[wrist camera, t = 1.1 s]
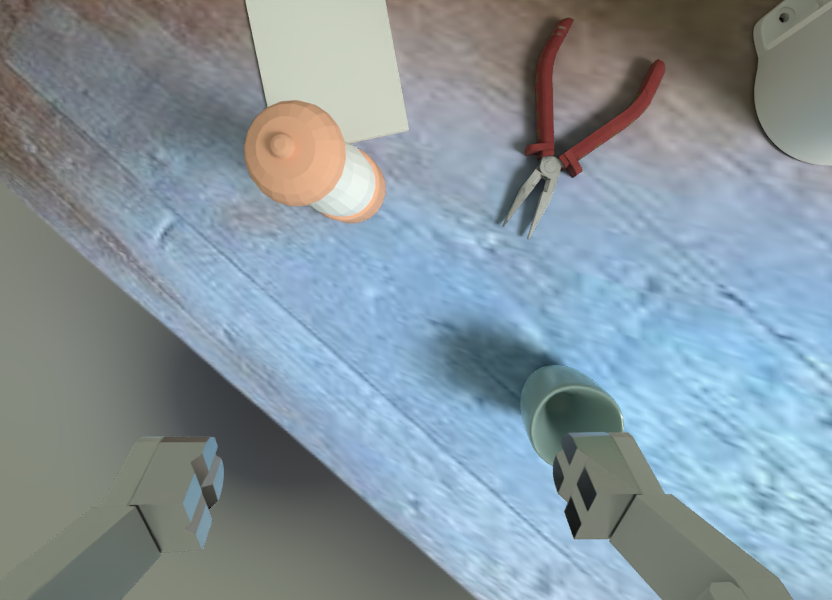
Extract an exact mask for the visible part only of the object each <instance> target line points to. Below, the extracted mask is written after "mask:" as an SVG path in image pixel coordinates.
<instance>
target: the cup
mask: <svg viewBox="0 0 832 600" xmlns="http://www.w3.org/2000/svg"><path fill="white" fill-rule="evenodd" d="M520 410H521V416H522V420H523V424H524V427H525V430H526V432H527V435H528V437H529V440H530V442H531V444H532V447H533V448H534V450H535V451H536V453H537V454H538V455H539V456H540V457H541V458H542V459H543V460H544V461H545V462H547V463H548V464H550V465H552V466H553V462H554V459H555V456H556V454H557V453H558V452H560V451H561V450H563V448H562V445H561V440H562V438H563V436H564V435H565V434H566V433H585V432H606V433H612V432H624V421H623V415H622V413H621V410H620V408H619V406H618V404H617V403H616V402H615V400H614V399H613V398H612V397H611V396H610V395H609V394H608V393H607V392H606V391H605V390H604V389H603V388H602V387H601V386H600V385H599V384H597V383H596V382H595V381H594V380H593V379H591V378H590V377H589V376H587V375H586V374H584V373H582V372H580V371H578V370H576V369H574V368H571V367H568V366H562V365H547V366H543V367H541V368H538V369H537V370H536V371H534V372H533V373H532V374H531V375H530V376H529V377H528V379H527V380H526V382H525V384H524V386H523V389H522V393H521V398H520Z"/></svg>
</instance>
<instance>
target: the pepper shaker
mask: <svg viewBox="0 0 832 600" xmlns="http://www.w3.org/2000/svg"><path fill="white" fill-rule="evenodd" d="M244 153H245V163H246V166H247V169H248V171H249V174H250V176H251V178H252V180H253V181H254V182H255V183H256V185H257V186H258V187H259V188H260V190H261V191H262V192H263V193H264V194H265V195H267V196H268V197H270V198H271V199H273V200H274V201H276V202H278V203H282V204H285V205H289V206H305V205H310V206H311V207H313V208H314V209H316V210H317V211H319V212H321V213H322V214H324V215H325V216H327V217H328V218H331V219H334V220H338V221H341V222H345V223H359V222H362V221H365V220H367V219H369V218H370V217H371V216H373V215H374V214H375V213H376V212H377V211H378V209H379V208H380V206H381V205H382V203H383V200H384V196H385V192H386V191H385V179H384V177H383V174H382V171H381V170H380V168H379V167H378V166H377V164H376V163H375V162H374V161H373V160H372V159H371V157H370V156H369V155H368V154H366V153H365V152H363V151H362V150H360V149H359V148H356V147H355V146H353V145H352V144H350V143H349V142H346V141H344V138H343V136H342V133H341V130H340V128H339V126H338V125H337V123H336V122H335V121H334V120H333V118H332V117H331V116H330V114H328V113H327V112H325V111H324V110H322V109H321V108H319V107H318V106H316V105H314V104H310V103H307V102H303V101H299V100H291V101H280V102H278V103H276V104H273V105H271V106H269V107H267V108H266V109H264V110H263V111H262V112H261V113H260V114H259V115H258V116H257V117H256V118H255V119H254V121H253V123H252V124H251V126H250V128H249V130H248V131H247V136H246V140H245V145H244Z"/></svg>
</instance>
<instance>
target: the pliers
mask: <svg viewBox="0 0 832 600" xmlns="http://www.w3.org/2000/svg"><path fill="white" fill-rule="evenodd" d="M573 21H574V20H573V19H571V18H565V19H563V20H561V21H560V22H559V23H558V24H557V25H556V27H555V29H554V31H553V32H552V34H551V36H550V38H549V40H548V42H547V43H546V45H545V47H544V49H543V51H542V53H541V54H540V57H539V60H538V64H537V70H536V81H535V91H536V124H537V144H531V145H528V146H527V147H526V148H525V156H528V155H538V160H541V162H540V164H539V165H538V166H537V167H536V169H535V170H534V171H533V173H532V174H531V175H530V177H529V178H528V179H527V181H526V182H525V183H524V185H523V186H522V187H521V189H520V190H519V192H518V194H517V196H516V198H515V200H514V202H513V205H512V207H511V209H510V211H509V213H508V215H507V217H506V219H505V221H504V224H503V226H502V227H504V225H505V224H506V223H507V222H508V220H509V219H510V218H511V217H512V215H513V214H514V213H515V211H516V210H517V209H518V208H519V206H520V205H521V204H522V203H523V201H524V200H525V199H526V197H527V196H528V195H529V194H530V192H531V191H532V190H533V189H534V187H535V186H536V184H537V183H538V182H539V180H540V179H541V178H542V179H545V180H544V181H546V183H545V186H544V190H543V192H541V193H540V196H539V199H538V203H537V206H536V210H535V213H534V217H533V220H532V224H531V227H530V231H529V234H528V238H527V239H529V238H530V236H531V234H532V233H533V231H534V229H535V227H536V226H537V224H538V222H539V220H540V219H541V217H542V215H543V213H544V212H545V210H546V208H547V206H548V205H549V203H550V200H551V198H552V195H553V192H554V189H555V186H556V183H557V180H558V176H559V173H560V170H561V171H562V170H564V169H565V168H566V169H567V170H568V172H569V173H570V175H571V177H572V178H573V177H575V176H576V175H578V174H579V173H581V172H582V167H581V166H580V164H579V162H578V160H580V159H581V158H583V157H584V156H586V155H587V154H589V153H590V152H592V151H593V150H594V149H596V148H597V147H599V146H600V145H602V144H603V143H605V142H606V141H608V140H609V139H610V138H612V137H613V136H615V135H616V134H618V133H619V132H621V131H622V130H624V129H625V128H626V127H628V126H629V125H630V124H631V123H633V122H634V121H635V120H636V119H637V118H638V117H639V116H640V115H641V114H642V113H643V112H644V111H645V110H646V109H647V107H648V106H649V104H650V102H651V100H652V98H653V96H654V94H655V92H656V90H657V88H658V86H659V84H660V82H661V79H662V77H663V75H664V72H665V64H664V62H663V61H661V60H659V59H657V60H656V61H655V62H654V63H653V64H652V66H651V68H650V70H649V72H648V74H647V76H646V78H645V80H644V82H643V84H642V86H641V88H640V90H639V92H638V94H637V96H636V97H635V99H634V101H633V102H632V103H631V105H630V106H629V107H628V108H627V109H626V110H625V111H624V112H623V113H621V114H620V115H618V116H617V117H615V118H614V119H613V120H611V121H610V122H608V123H607V124H605V125H604V126H603V127H601V128H600V129H598V130H597V131H595V132H594V133H592V134H591V135H590V136H588V137H587V138H585V139H584V140H582V141H581V142H579V143H578V144H577V145H575V146H574V147H572V148H571V149H569V150H568V151H566V152H565V153H564V154H562V155H561V156H559V157H558V158H556V157H553V156H554V125H553V87H552V73H553V65H554V60H555V57H556V54H557V51H558V49H559V47H560V45H561V44H562V42H563V40H564V38H565V36H566V34H567V32H568V30H569V28H570V26H571V25H572V23H573Z"/></svg>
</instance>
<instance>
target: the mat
mask: <svg viewBox="0 0 832 600" xmlns="http://www.w3.org/2000/svg"><path fill="white" fill-rule="evenodd" d="M245 1H246V6H247V11H248V15H249V20H250V25H251V30H252V35H253V39H254V44H255V49H256V54H257V59H258V63H259V68H260V73H261V78H262V83H263V87H264V92H265V97H266V102H267V107H269V106H271V105H273V104H276V103H278V102H280V101H291V100H299V101H303V102H307V103H310V104H314V105H316V106H318V107H319V108H321V109H322V110H324V111H325V112H327V113H328V114H330V116H331V117H332V118H333V120H334V121H335V122H336V123H337V125H338V126H339V128H340V130H341V133H342V136H343V138H344V141H346V142H349V143H350V144H352V143H356V142H361V141H365V140H370V139H374V138H379V137H383V136H388V135H392V134H397V133H401V132H406V131H409V127H408V122H407V116H406V111H405V105H404V100H403V94H402V89H401V84H400V78H399V73H398V67H397V62H396V56H395V51H394V45H393V40H392V34H391V29H390V23H389V18H388V13H387V7H386V2H385V0H245Z"/></svg>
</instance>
